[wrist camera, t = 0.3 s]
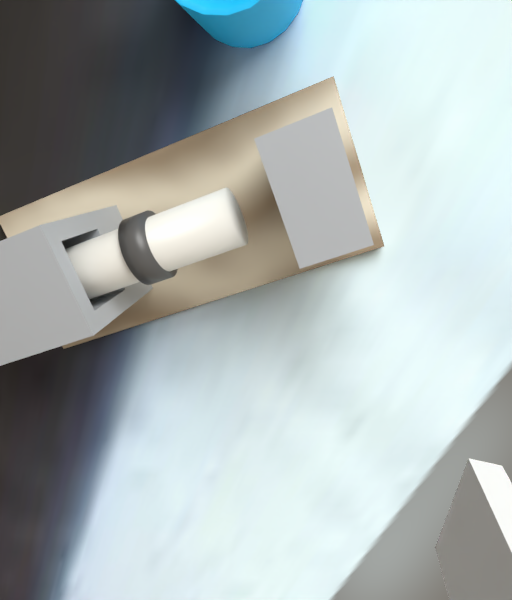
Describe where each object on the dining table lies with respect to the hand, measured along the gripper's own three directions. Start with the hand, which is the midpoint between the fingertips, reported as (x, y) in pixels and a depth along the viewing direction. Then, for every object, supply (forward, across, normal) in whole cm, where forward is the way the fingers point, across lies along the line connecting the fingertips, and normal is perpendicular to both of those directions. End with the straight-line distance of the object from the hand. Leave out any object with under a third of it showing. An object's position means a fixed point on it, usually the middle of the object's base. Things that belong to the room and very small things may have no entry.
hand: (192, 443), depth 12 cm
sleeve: (+24, -15, -4) cm, 29 cm away
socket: (+24, +2, +5) cm, 25 cm away
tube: (+20, -10, -1) cm, 23 cm away
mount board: (+25, -8, 0) cm, 27 cm away
